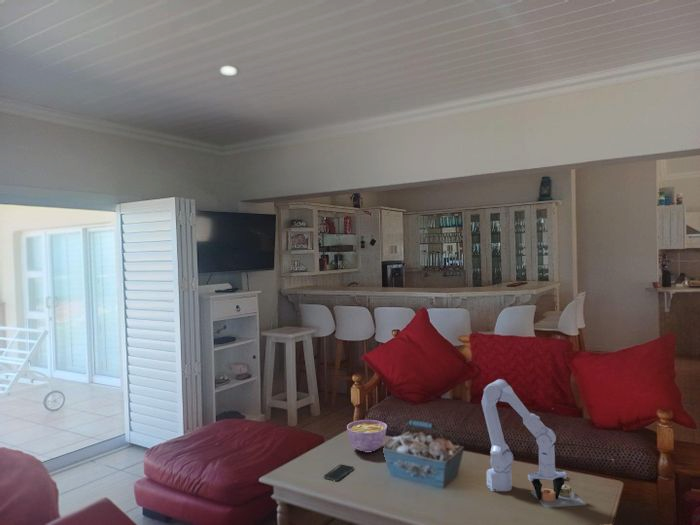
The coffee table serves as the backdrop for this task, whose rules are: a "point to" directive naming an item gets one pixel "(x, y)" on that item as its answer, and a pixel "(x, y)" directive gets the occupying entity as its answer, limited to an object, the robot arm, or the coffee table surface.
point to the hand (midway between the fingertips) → (547, 497)
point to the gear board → (562, 500)
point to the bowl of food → (367, 434)
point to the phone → (338, 472)
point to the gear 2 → (565, 491)
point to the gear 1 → (547, 495)
